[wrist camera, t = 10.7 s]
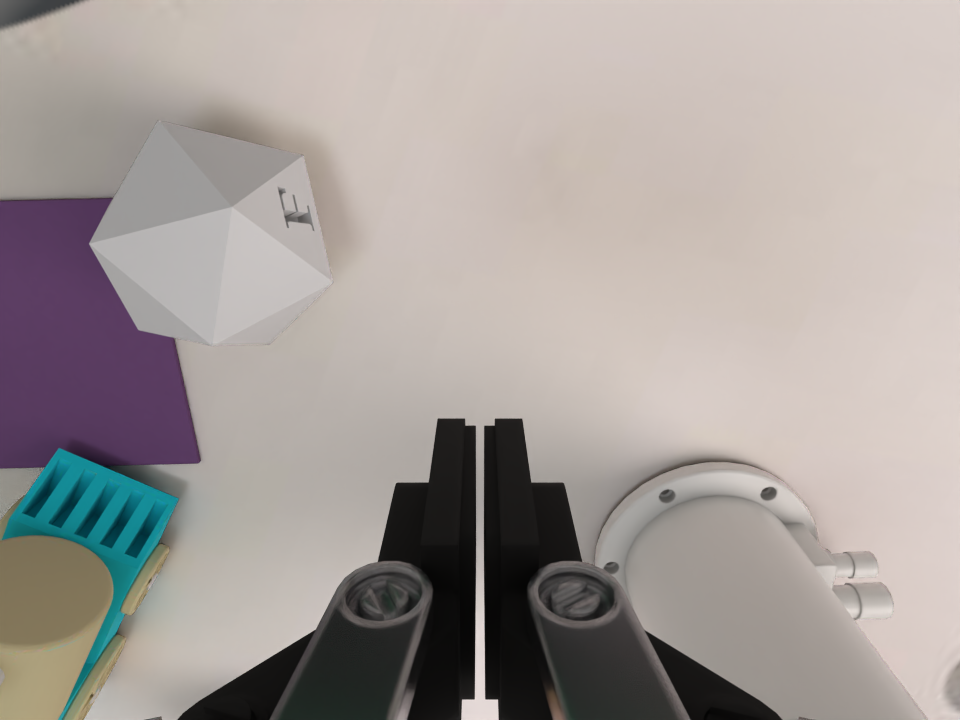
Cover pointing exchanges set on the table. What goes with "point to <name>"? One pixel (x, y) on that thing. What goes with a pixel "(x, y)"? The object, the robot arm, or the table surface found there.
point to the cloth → (79, 351)
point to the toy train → (73, 583)
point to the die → (213, 239)
